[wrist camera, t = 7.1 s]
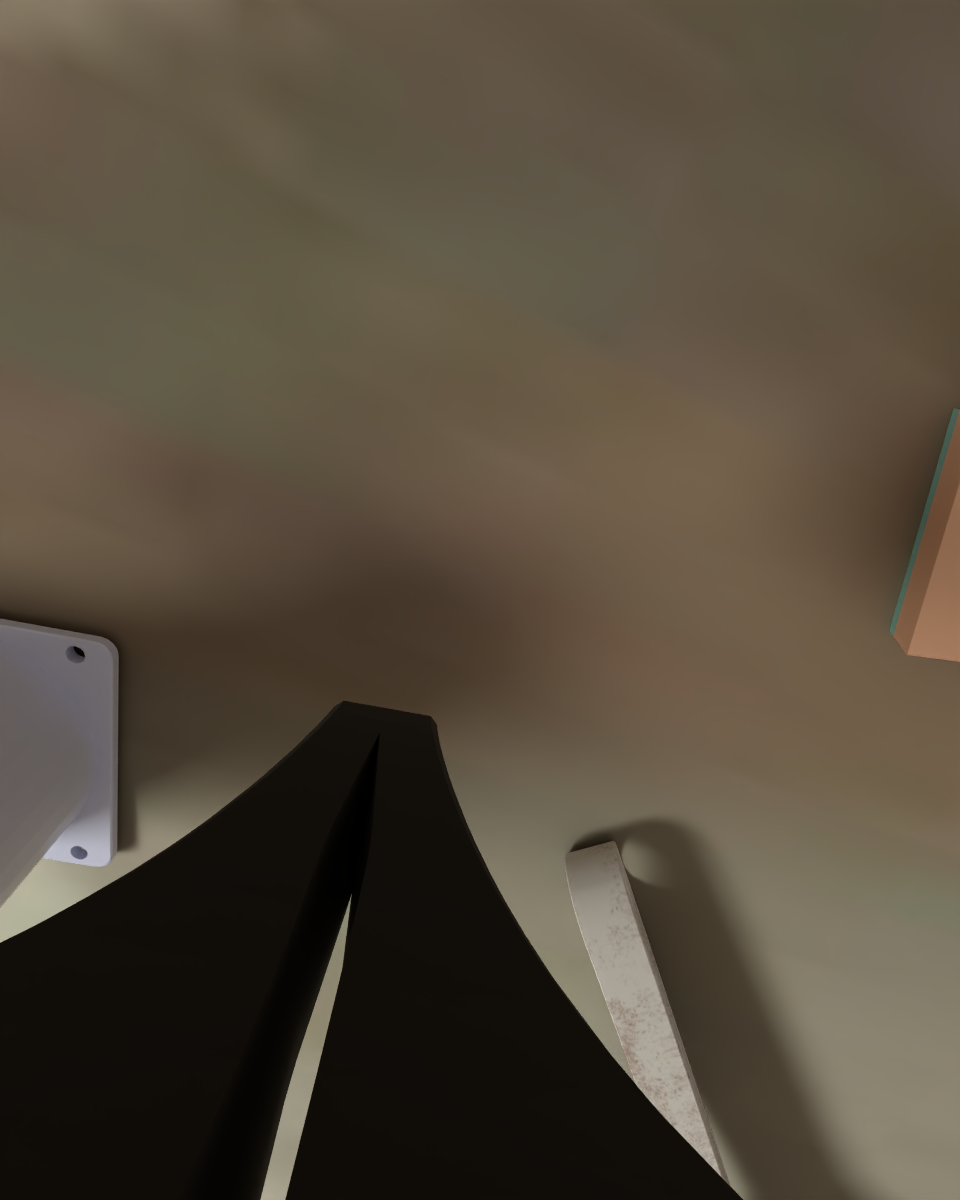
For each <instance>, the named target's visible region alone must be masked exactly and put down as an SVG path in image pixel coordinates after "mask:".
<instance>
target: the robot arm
mask: <svg viewBox="0 0 960 1200" xmlns="http://www.w3.org/2000/svg"><path fill="white" fill-rule="evenodd" d="M73 646H76V647H78V648H80V649H81V650H82V651H83V652H84V654H85V657H82V656H80V655H78V654H77V653H76V652H75V650H74V647H73ZM118 673H119V655H118V651H117V648H116V647H115V645H114V644H113V643H112V642H111V641H109V640H108V639H106V638H103V637H100V636H94V635H89V634H83V633H78V632H72V631H67V630H61V629H56V628H50V627H45V626H39V625H33V624H28V623H22V622H17V621H11V620H6V619H0V908H1V907H2V905H3V904H4V903H5V902H6V901H7V899H8V898H9V897H10V896H11V895H12V893H13V892H14V891H15V890H16V889H17V887H18V886H19V885H20V884H21V883H22V881H23V880H24V879H25V878H26V877H27V875H28V874H29V873H30V872H31V871H32V869H33V868H34V867H35V866H36V865H37V863H38V862H39V861H40V860H41V859H42V858H45V859H51V860H58V861H64V862H70V863H77V864H83V865H89V866H96V867H103V866H106V865H108V864H109V863H110V862H111V861H112V860H113V858H114V857H115V855H116V853H117V815H118ZM79 846H80V847H83V848H84V849H85V850H84V849H81V848H80V847H79ZM351 894H352V896H351ZM350 897H351V904H350V912H349V920H348V928H347V936H346V944H345V952H344V960H343V968H342V972H341V976H340V981H339V985H338V989H337V993H336V997H335V1001H334V1005H333V1010H332V1014H331V1018H330V1022H329V1026H328V1030H327V1034H326V1038H325V1043H324V1047H323V1051H322V1055H321V1059H320V1063H319V1067H318V1071H317V1075H316V1079H315V1083H314V1087H313V1091H312V1095H311V1099H310V1104H309V1108H308V1112H307V1116H306V1120H305V1124H304V1128H303V1132H302V1136H301V1140H300V1144H299V1148H298V1152H297V1156H296V1160H295V1164H294V1168H293V1172H292V1176H291V1180H290V1184H289V1188H288V1192H287V1196H286V1200H743V1199H742V1198H741V1197H740V1196H739V1195H738V1194H737V1193H736V1192H735V1191H734V1190H733V1189H732V1188H731V1187H730V1186H729V1184H728V1183H727V1182H726V1181H725V1180H724V1179H723V1178H722V1177H721V1176H720V1175H719V1174H718V1173H717V1172H716V1171H715V1170H714V1169H713V1168H712V1167H711V1166H710V1165H709V1164H708V1162H707V1161H706V1160H705V1159H704V1158H703V1157H702V1156H701V1155H700V1154H699V1153H698V1152H697V1151H696V1150H695V1149H694V1148H693V1147H692V1146H691V1145H690V1144H689V1143H688V1142H687V1141H686V1139H685V1138H684V1137H683V1136H682V1135H681V1134H680V1133H679V1132H678V1131H677V1130H676V1129H675V1128H674V1127H673V1126H672V1125H671V1124H670V1123H669V1122H668V1121H667V1120H666V1119H665V1117H664V1116H663V1115H662V1114H661V1113H660V1112H659V1111H658V1110H657V1108H656V1107H655V1106H654V1105H653V1104H652V1103H651V1102H650V1101H649V1099H648V1098H647V1097H646V1096H645V1095H644V1093H643V1092H642V1091H641V1090H640V1089H639V1088H638V1086H637V1085H636V1084H635V1083H634V1082H633V1080H632V1079H631V1078H630V1077H629V1076H628V1075H627V1073H626V1072H625V1071H624V1070H623V1069H622V1067H621V1066H620V1065H619V1064H618V1063H617V1062H616V1060H615V1059H614V1058H613V1057H612V1056H611V1054H610V1053H609V1052H608V1050H607V1049H606V1048H605V1046H604V1045H603V1044H602V1042H601V1041H600V1040H599V1038H598V1037H597V1036H596V1034H595V1033H594V1032H593V1030H592V1029H591V1028H590V1026H589V1025H588V1024H587V1022H586V1021H585V1020H584V1018H583V1017H582V1016H581V1014H580V1013H579V1012H578V1010H577V1009H576V1008H575V1006H574V1005H573V1004H572V1002H571V1001H570V1000H569V998H568V997H567V996H566V994H565V993H564V992H563V990H562V989H561V988H560V986H559V985H558V984H557V982H556V981H555V980H554V978H553V977H552V975H551V974H550V972H549V971H548V969H547V968H546V966H545V965H544V963H543V962H542V960H541V959H540V957H539V956H538V954H537V952H536V951H535V949H534V948H533V946H532V945H531V943H530V942H529V940H528V939H527V937H526V936H525V934H524V932H523V931H522V929H521V927H520V926H519V924H518V922H517V920H516V919H515V917H514V915H513V914H512V912H511V910H510V909H509V907H508V905H507V904H506V902H505V900H504V898H503V896H502V895H501V893H500V891H499V889H498V887H497V885H496V883H495V882H494V880H493V878H492V876H491V874H490V872H489V870H488V868H487V866H486V864H485V862H484V860H483V858H482V855H481V853H480V851H479V849H478V847H477V845H476V843H475V841H474V839H473V836H472V834H471V832H470V829H469V827H468V825H467V823H466V820H465V818H464V815H463V812H462V810H461V807H460V805H459V802H458V800H457V797H456V795H455V792H454V789H453V786H452V784H451V781H450V778H449V775H448V772H447V768H446V765H445V762H444V758H443V755H442V751H441V747H440V742H439V737H438V731H437V724H436V723H435V722H434V720H433V719H432V717H431V716H426V715H421V714H415V713H409V712H404V711H398V710H393V709H387V708H381V707H376V706H370V705H365V704H359V703H353V702H348V701H343V702H341V703H340V704H338V705H336V706H335V707H334V708H333V709H332V710H331V711H330V712H329V714H328V715H327V716H326V717H325V718H324V719H323V720H322V721H321V722H320V723H319V724H318V725H317V726H316V727H315V728H314V729H313V730H312V731H311V732H310V733H309V734H308V735H307V736H306V737H305V738H304V739H303V740H302V741H301V742H300V743H299V744H298V745H297V746H296V747H295V748H294V749H293V750H292V751H291V752H290V753H288V754H287V755H286V756H285V757H284V758H283V759H282V760H281V761H279V762H278V763H277V764H276V765H275V766H274V767H273V768H272V769H270V770H269V771H268V772H267V773H266V774H265V775H264V776H263V777H261V778H260V779H259V780H258V781H257V782H255V783H254V784H253V785H252V786H251V787H249V788H248V789H247V790H245V791H244V792H243V793H242V794H240V795H239V796H238V797H236V798H235V799H234V800H233V801H231V802H230V803H229V804H227V805H226V806H225V807H224V808H222V809H221V810H220V811H219V812H217V813H216V814H215V815H213V816H212V817H211V818H210V819H208V820H207V821H205V822H204V823H203V824H201V825H200V826H198V827H197V828H196V829H194V830H193V831H191V832H190V833H189V834H187V835H186V836H184V837H183V838H181V839H180V840H179V841H177V842H176V843H174V844H173V845H171V846H170V847H168V848H167V849H165V850H164V851H162V852H160V853H159V854H157V855H156V856H154V857H153V858H151V859H150V860H148V861H147V862H145V863H143V864H142V865H140V866H139V867H137V868H136V869H134V870H132V871H131V872H129V873H127V874H126V875H124V876H122V877H121V878H119V879H117V880H115V881H114V882H112V883H110V884H109V885H107V886H105V887H103V888H102V889H100V890H98V891H97V892H95V893H93V894H91V895H90V896H88V897H86V898H85V899H83V900H81V901H79V902H77V903H76V904H74V905H72V906H70V907H68V908H66V909H65V910H63V911H61V912H59V913H57V914H56V915H54V916H52V917H50V918H48V919H47V920H45V921H43V922H41V923H39V924H37V925H35V926H33V927H31V928H29V929H27V930H25V931H23V932H21V933H19V934H17V935H15V936H13V937H11V938H9V939H7V940H5V941H3V942H1V943H0V1200H260V1199H261V1195H262V1191H263V1187H264V1183H265V1178H266V1174H267V1170H268V1166H269V1162H270V1158H271V1154H272V1150H273V1146H274V1142H275V1138H276V1134H277V1130H278V1126H279V1122H280V1118H281V1113H282V1109H283V1105H284V1101H285V1098H286V1094H287V1091H288V1087H289V1084H290V1081H291V1077H292V1074H293V1070H294V1067H295V1063H296V1060H297V1057H298V1054H299V1051H300V1048H301V1045H302V1042H303V1039H304V1036H305V1033H306V1030H307V1027H308V1024H309V1021H310V1018H311V1015H312V1012H313V1009H314V1006H315V1003H316V1000H317V997H318V994H319V991H320V988H321V985H322V982H323V979H324V976H325V973H326V970H327V967H328V964H329V961H330V958H331V955H332V952H333V949H334V946H335V943H336V940H337V937H338V934H339V931H340V928H341V925H342V922H343V919H344V916H345V913H346V910H347V906H348V903H349V900H350Z"/></svg>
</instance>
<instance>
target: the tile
mask: <svg viewBox="0 0 960 1200" xmlns="http://www.w3.org/2000/svg"><path fill="white" fill-rule="evenodd" d="M889 631H890V633H891V634H892V635H893V637H894V638H895V639H896V641H897V642H898V643H899V645H900V646H901V647H902V649H903V650H904V651H905V653H906V654H907V655H912V656H920V657H927V658H935V659H942V660H950V661H957V662H960V409H956V408H954V409H953V412H952V416H951V419H950V423H949V426H948V429H947V433H946V436H945V440H944V443H943V447H942V450H941V454H940V457H939V461H938V464H937V468H936V471H935V474H934V478H933V481H932V485H931V488H930V492H929V495H928V499H927V502H926V506H925V509H924V512H923V516H922V519H921V523H920V526H919V530H918V533H917V537H916V540H915V544H914V547H913V550H912V554H911V557H910V561H909V564H908V568H907V571H906V575H905V578H904V582H903V585H902V588H901V592H900V595H899V599H898V602H897V606H896V609H895V613H894V616H893V620H892V623H891V626H890V630H889Z"/></svg>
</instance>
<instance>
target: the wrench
mask: <svg viewBox="0 0 960 1200" xmlns="http://www.w3.org/2000/svg"><path fill="white" fill-rule="evenodd" d="M564 865H565V871H566V877H567V882H568V887H569V891H570V896H571V900H572V903H573V907H574V911H575V914H576V918H577V921H578V924H579V928H580V931H581V934H582V937H583V940H584V943H585V945H586V948H587V951H588V953H589V956H590V959H591V962H592V964H593V967H594V970H595V973H596V976H597V978H598V981H599V984H600V987H601V989H602V992H603V995H604V998H605V1000H606V1003H607V1006H608V1009H609V1011H610V1014H611V1017H612V1020H613V1022H614V1025H615V1028H616V1031H617V1033H618V1036H619V1039H620V1042H621V1044H622V1047H623V1050H624V1053H625V1055H626V1058H627V1061H628V1064H629V1066H630V1069H631V1072H632V1075H633V1078H634V1080H635V1083H636V1085H637V1086H638V1088H639V1089H640V1090H641V1091H642V1092H643V1093H644V1095H645V1096H646V1097H647V1098H648V1099H649V1101H650V1102H651V1103H652V1104H653V1105H654V1106H655V1107H656V1108H657V1110H658V1111H659V1112H660V1113H661V1114H662V1115H663V1116H664V1117H665V1119H666V1120H667V1121H668V1122H669V1123H670V1124H671V1125H672V1126H673V1127H674V1128H675V1129H676V1130H677V1131H678V1132H679V1133H680V1134H681V1135H682V1136H683V1137H684V1138H685V1139H686V1141H687V1142H688V1143H689V1144H690V1145H691V1146H692V1147H693V1148H694V1149H695V1150H696V1151H697V1152H698V1153H699V1154H700V1155H701V1156H702V1157H703V1158H704V1159H705V1160H706V1161H707V1162H708V1164H709V1165H710V1166H711V1167H712V1168H713V1169H714V1170H715V1171H716V1172H717V1173H718V1174H719V1175H720V1176H721V1177H722V1178H723V1179H724V1180H725V1181H726V1182H727V1183H728V1184H729V1181H728V1178H727V1175H726V1172H725V1169H724V1166H723V1163H722V1159H721V1156H720V1153H719V1150H718V1147H717V1144H716V1141H715V1138H714V1135H713V1132H712V1129H711V1126H710V1123H709V1120H708V1117H707V1114H706V1111H705V1108H704V1105H703V1102H702V1099H701V1096H700V1093H699V1090H698V1087H697V1084H696V1081H695V1078H694V1075H693V1072H692V1069H691V1066H690V1063H689V1060H688V1057H687V1054H686V1051H685V1048H684V1045H683V1042H682V1039H681V1036H680V1033H679V1030H678V1027H677V1024H676V1021H675V1018H674V1015H673V1012H672V1009H671V1006H670V1003H669V1000H668V997H667V994H666V991H665V988H664V985H663V982H662V979H661V976H660V973H659V970H658V967H657V964H656V961H655V958H654V955H653V952H652V949H651V946H650V943H649V940H648V937H647V934H646V931H645V928H644V925H643V922H642V919H641V916H640V913H639V910H638V907H637V904H636V901H635V898H634V895H633V892H632V889H631V886H630V883H629V880H628V877H627V874H626V871H625V868H624V865H623V862H622V860H621V857H620V854H619V851H618V848H617V845H616V843H615V842H614V841H611V842H607V843H603V844H600V845H596V846H592V847H588V848H585V849H581V850H577V851H574V852H570V853H566V854H565V857H564ZM729 1186H730V1184H729Z"/></svg>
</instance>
